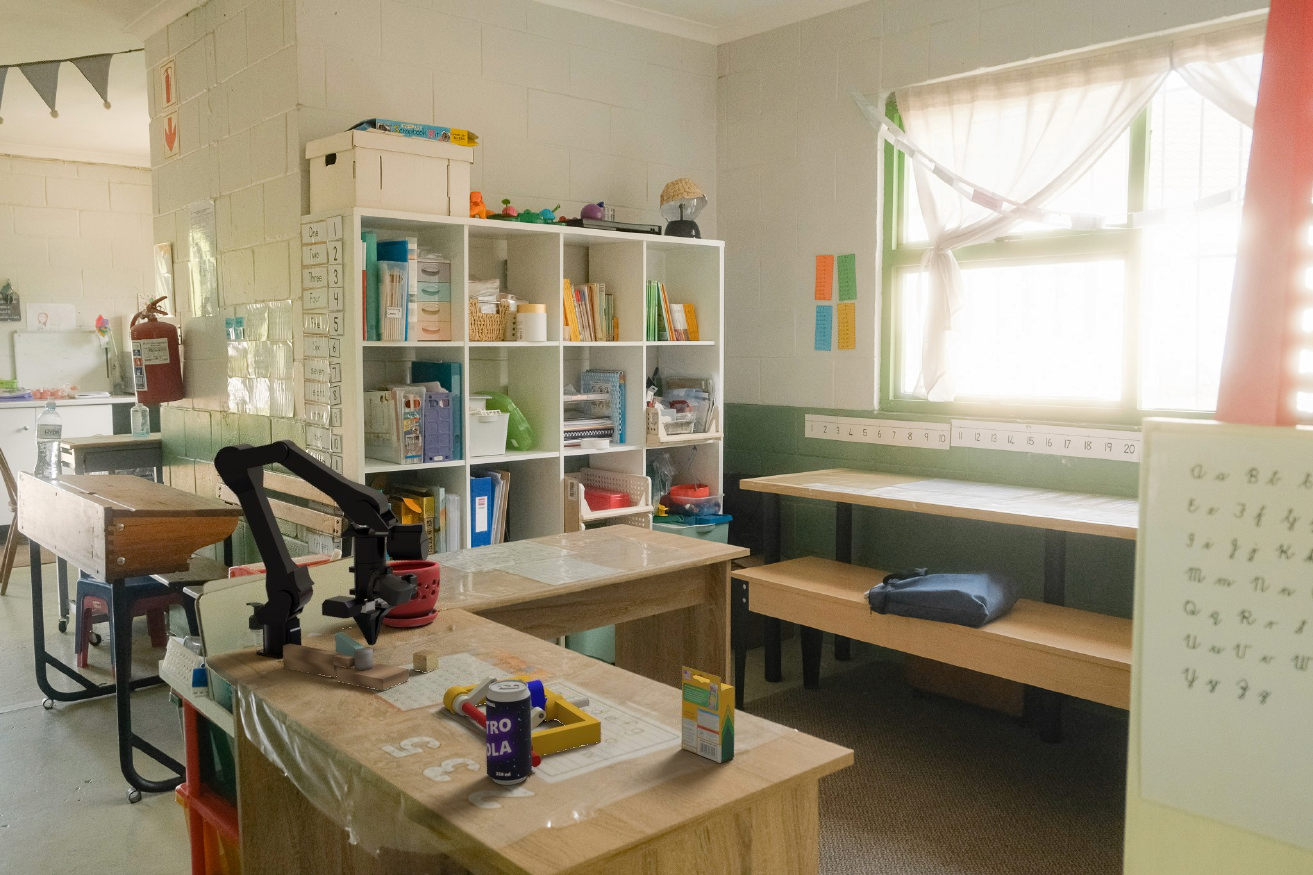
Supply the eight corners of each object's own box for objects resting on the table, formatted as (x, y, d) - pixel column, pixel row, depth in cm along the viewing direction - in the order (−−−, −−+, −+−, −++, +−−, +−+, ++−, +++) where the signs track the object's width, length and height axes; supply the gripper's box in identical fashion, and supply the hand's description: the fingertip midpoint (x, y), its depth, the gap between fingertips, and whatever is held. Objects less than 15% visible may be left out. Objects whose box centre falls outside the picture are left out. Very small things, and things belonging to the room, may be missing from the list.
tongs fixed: (408, 680, 163) (408, 651, 163) (383, 691, 158) (382, 660, 158) (304, 661, 174) (304, 633, 174) (277, 670, 169) (276, 641, 169)
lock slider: (438, 668, 170) (438, 651, 170) (426, 673, 167) (426, 656, 167) (425, 665, 171) (424, 649, 171) (413, 670, 169) (412, 653, 168)
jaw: (371, 675, 166) (371, 652, 166) (362, 676, 165) (361, 653, 165) (344, 653, 179) (343, 631, 178) (335, 654, 178) (335, 633, 178)
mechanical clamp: (522, 731, 125) (439, 670, 150) (523, 778, 126) (440, 710, 151) (644, 704, 135) (547, 651, 160) (644, 748, 135) (547, 688, 161)
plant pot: (452, 616, 205) (451, 560, 204) (419, 632, 193) (417, 572, 192) (397, 612, 209) (396, 556, 208) (361, 627, 197) (360, 568, 196)
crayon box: (735, 757, 131) (735, 672, 130) (720, 764, 129) (720, 677, 128) (695, 742, 136) (695, 661, 135) (680, 748, 134) (680, 665, 133)
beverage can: (488, 769, 127) (486, 679, 126) (532, 767, 128) (531, 677, 127) (485, 788, 122) (484, 693, 121) (531, 786, 122) (530, 692, 121)
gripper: (366, 574, 166) (368, 664, 167) (438, 555, 183) (439, 637, 184) (318, 568, 171) (320, 655, 172) (392, 550, 188) (394, 630, 189)
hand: (371, 644), depth 179 cm, fingers closed
